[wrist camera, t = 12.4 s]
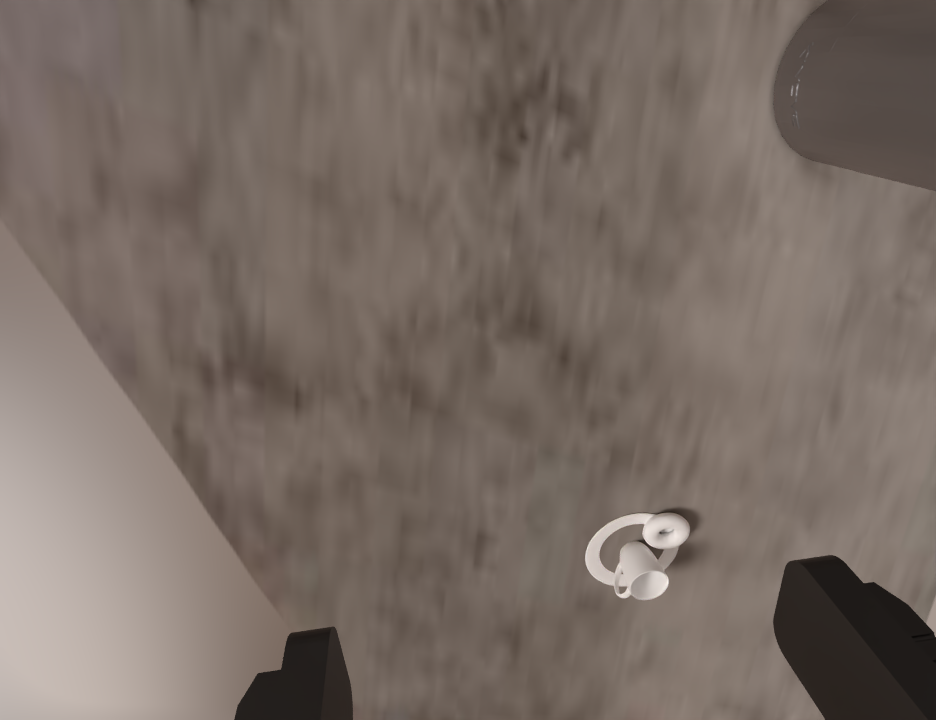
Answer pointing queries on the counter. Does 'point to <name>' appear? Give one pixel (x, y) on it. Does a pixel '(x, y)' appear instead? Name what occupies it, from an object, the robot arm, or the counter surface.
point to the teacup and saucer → (640, 554)
